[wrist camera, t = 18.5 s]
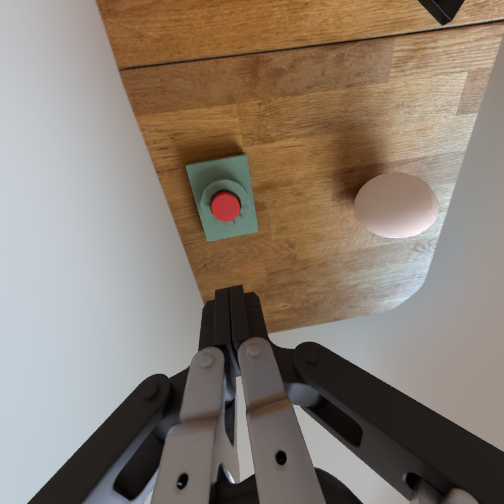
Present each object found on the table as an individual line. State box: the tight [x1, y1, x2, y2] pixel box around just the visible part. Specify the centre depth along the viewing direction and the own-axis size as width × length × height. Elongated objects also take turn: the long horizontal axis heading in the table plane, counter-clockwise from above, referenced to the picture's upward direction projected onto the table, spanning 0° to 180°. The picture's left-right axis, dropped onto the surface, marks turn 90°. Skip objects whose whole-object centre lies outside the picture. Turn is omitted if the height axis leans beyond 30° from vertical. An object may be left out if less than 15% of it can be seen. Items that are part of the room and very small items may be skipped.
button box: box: [185, 154, 258, 242], centre depth 30 cm, size 8×11×4 cm
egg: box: [354, 172, 439, 238], centre depth 30 cm, size 9×9×12 cm
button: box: [211, 191, 240, 222], centre depth 28 cm, size 4×4×2 cm
